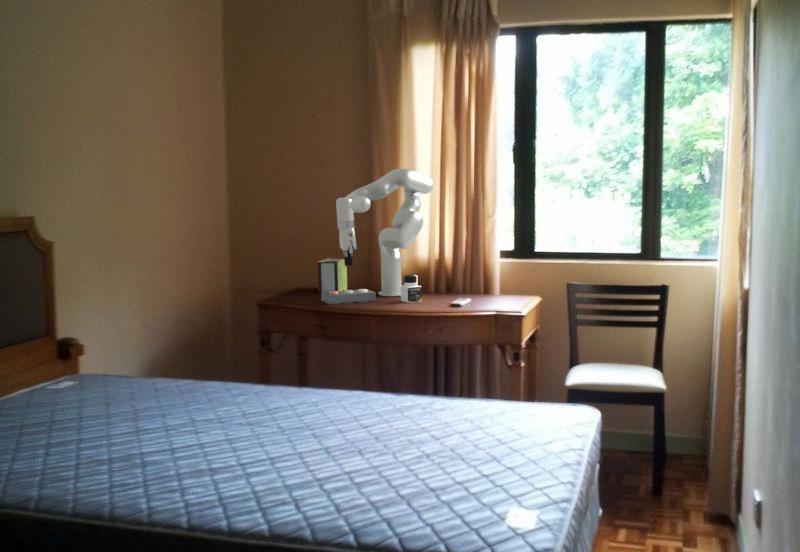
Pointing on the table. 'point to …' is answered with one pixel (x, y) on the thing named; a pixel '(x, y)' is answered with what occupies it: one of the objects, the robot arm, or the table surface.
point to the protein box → (332, 275)
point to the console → (348, 297)
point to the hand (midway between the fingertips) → (348, 265)
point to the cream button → (362, 290)
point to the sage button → (348, 291)
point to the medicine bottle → (411, 289)
